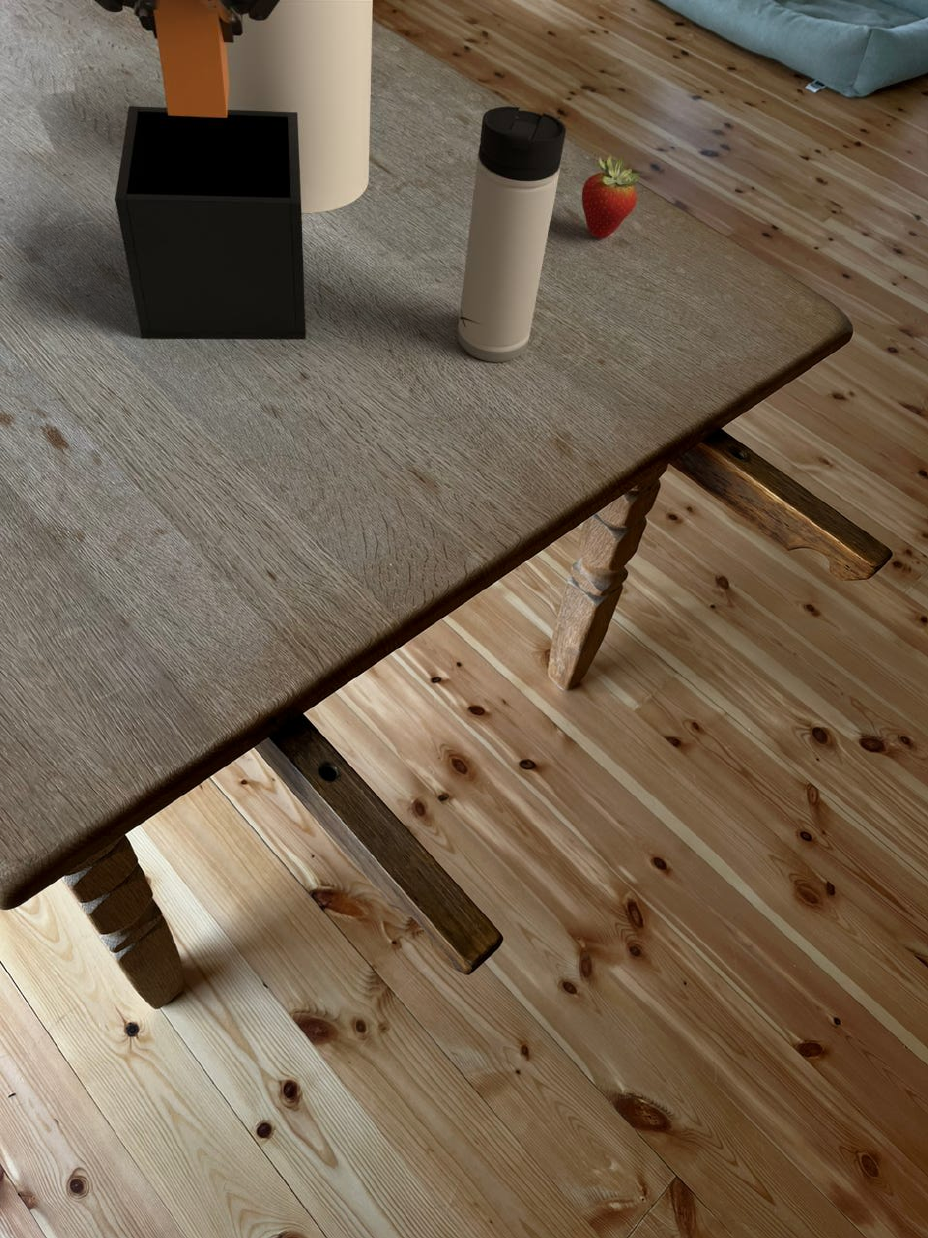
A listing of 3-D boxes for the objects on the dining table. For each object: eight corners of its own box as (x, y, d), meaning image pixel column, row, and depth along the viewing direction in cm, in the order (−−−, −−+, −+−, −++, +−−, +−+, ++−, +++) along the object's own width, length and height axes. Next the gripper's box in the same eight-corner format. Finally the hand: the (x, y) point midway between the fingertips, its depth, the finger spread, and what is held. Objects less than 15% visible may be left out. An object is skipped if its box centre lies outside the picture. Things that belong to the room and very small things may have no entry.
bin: (141, 338, 84) (114, 199, 74) (151, 243, 92) (128, 105, 82) (305, 339, 86) (301, 203, 76) (302, 245, 94) (297, 111, 84)
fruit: (633, 251, 99) (653, 174, 93) (583, 255, 98) (600, 177, 91) (615, 221, 102) (633, 144, 95) (565, 225, 101) (580, 147, 94)
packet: (168, 115, 70) (150, -12, 63) (172, 80, 73) (156, -45, 66) (227, 118, 70) (215, -8, 64) (229, 82, 73) (218, -41, 67)
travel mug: (448, 356, 87) (472, 128, 71) (466, 311, 91) (493, 85, 75) (518, 372, 86) (559, 147, 70) (533, 327, 90) (575, 103, 74)
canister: (389, 200, 100) (398, -22, 84) (258, 222, 96) (241, -7, 80) (339, 131, 107) (339, -86, 91) (215, 149, 102) (191, -76, 86)
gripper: (17, -47, 52) (90, 78, 69) (295, -29, 54) (300, 88, 71) (6, -208, 51) (84, -41, 68) (291, -184, 53) (297, -27, 70)
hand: (194, 25), depth 69 cm, fingers closed on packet, 4 cm apart
